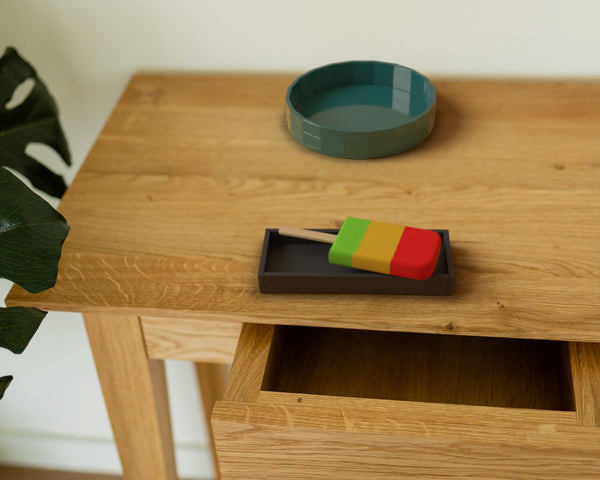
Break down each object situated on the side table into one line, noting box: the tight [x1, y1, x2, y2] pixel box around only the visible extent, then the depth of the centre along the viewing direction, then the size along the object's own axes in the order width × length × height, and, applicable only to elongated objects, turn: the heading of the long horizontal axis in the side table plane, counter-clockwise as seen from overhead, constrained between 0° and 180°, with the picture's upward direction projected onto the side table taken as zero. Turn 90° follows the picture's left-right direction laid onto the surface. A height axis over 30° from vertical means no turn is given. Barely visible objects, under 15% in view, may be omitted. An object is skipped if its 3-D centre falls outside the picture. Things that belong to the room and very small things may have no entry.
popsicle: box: [279, 216, 442, 280], centre depth 69 cm, size 6×15×2 cm, turn 71°
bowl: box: [284, 59, 437, 160], centre depth 91 cm, size 18×18×4 cm
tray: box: [257, 227, 455, 296], centre depth 71 cm, size 17×7×2 cm, turn 86°
